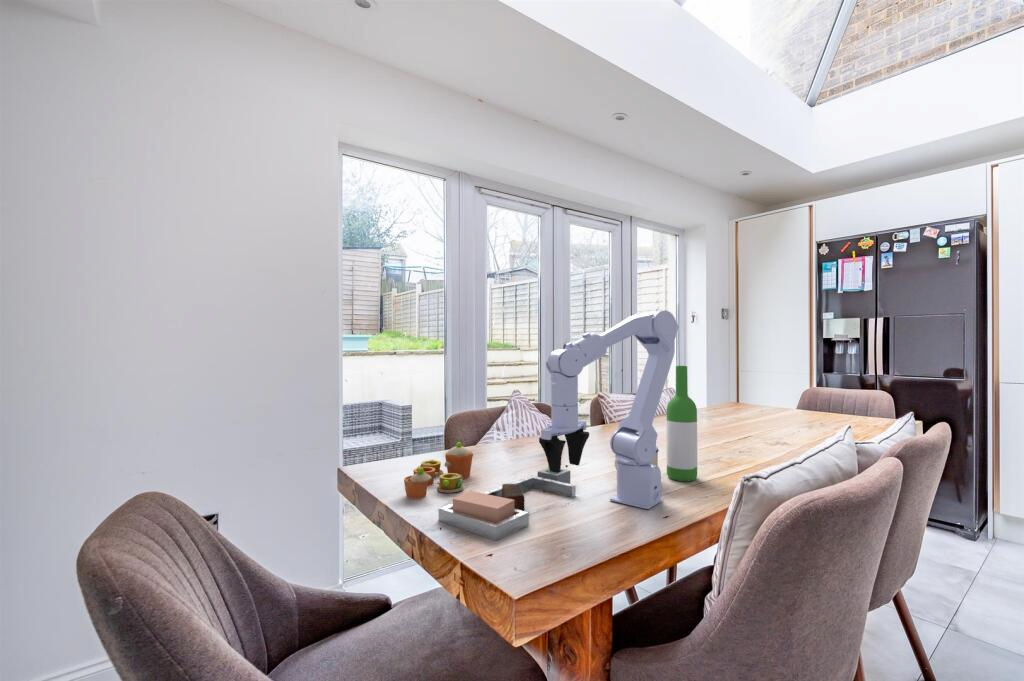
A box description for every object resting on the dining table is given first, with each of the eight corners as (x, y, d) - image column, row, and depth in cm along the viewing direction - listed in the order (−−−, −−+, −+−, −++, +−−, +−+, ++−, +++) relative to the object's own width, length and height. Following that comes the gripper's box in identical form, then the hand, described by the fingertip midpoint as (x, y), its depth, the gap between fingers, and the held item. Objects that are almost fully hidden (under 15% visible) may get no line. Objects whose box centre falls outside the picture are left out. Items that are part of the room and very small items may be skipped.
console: (570, 484, 123) (570, 470, 123) (557, 489, 118) (557, 475, 118) (551, 479, 127) (551, 466, 127) (537, 485, 122) (537, 471, 122)
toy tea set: (421, 471, 136) (421, 437, 137) (475, 472, 136) (475, 438, 136) (394, 501, 110) (394, 459, 110) (461, 502, 110) (461, 460, 110)
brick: (525, 518, 99) (525, 495, 100) (506, 519, 99) (506, 496, 99) (518, 501, 110) (518, 481, 110) (501, 502, 110) (501, 481, 110)
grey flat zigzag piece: (585, 498, 112) (585, 487, 112) (495, 540, 88) (495, 526, 88) (532, 485, 122) (532, 475, 122) (438, 520, 98) (438, 508, 98)
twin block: (470, 514, 102) (470, 490, 102) (514, 524, 96) (514, 499, 96) (452, 523, 97) (452, 498, 97) (497, 535, 91) (497, 508, 91)
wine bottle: (702, 478, 128) (702, 365, 128) (688, 484, 122) (688, 367, 123) (675, 472, 133) (675, 365, 134) (661, 478, 128) (660, 366, 128)
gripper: (567, 400, 111) (567, 458, 111) (529, 406, 100) (529, 471, 100) (594, 402, 107) (594, 463, 107) (557, 409, 95) (557, 477, 95)
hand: (564, 468), depth 103 cm, fingers open, 7 cm apart
